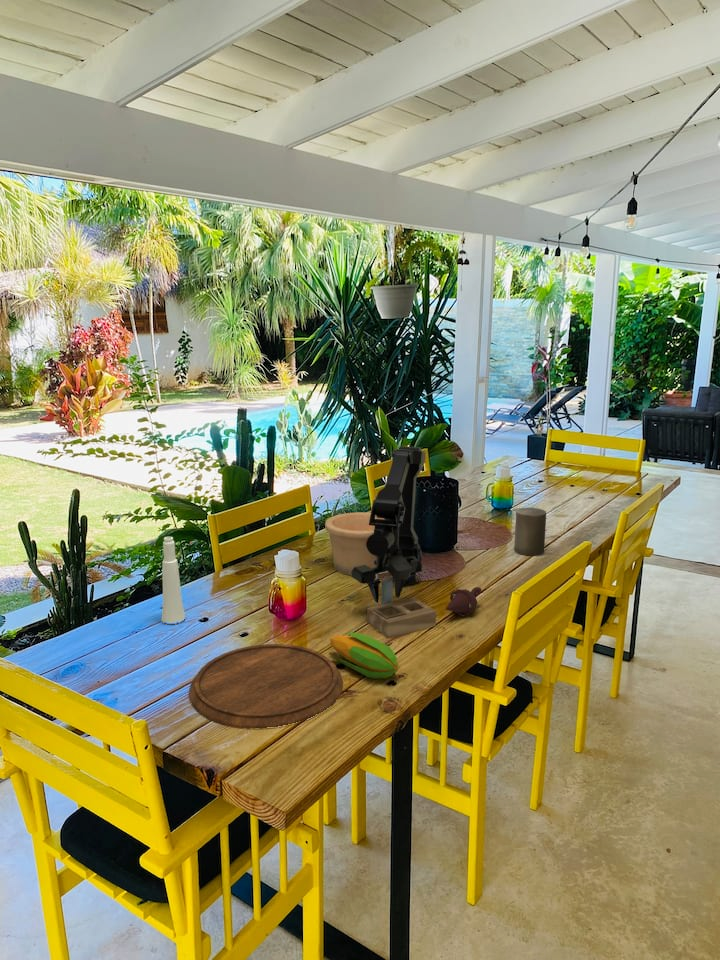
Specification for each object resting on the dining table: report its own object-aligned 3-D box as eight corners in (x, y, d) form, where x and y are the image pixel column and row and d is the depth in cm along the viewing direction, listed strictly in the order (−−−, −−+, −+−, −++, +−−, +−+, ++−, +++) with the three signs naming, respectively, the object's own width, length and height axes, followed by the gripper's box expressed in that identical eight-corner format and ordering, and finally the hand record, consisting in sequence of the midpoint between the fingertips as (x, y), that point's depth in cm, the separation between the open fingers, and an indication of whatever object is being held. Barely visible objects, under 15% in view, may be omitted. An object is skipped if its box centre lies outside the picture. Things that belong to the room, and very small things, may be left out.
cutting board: (374, 684, 151) (374, 673, 151) (258, 752, 128) (257, 739, 127) (273, 639, 172) (273, 629, 171) (158, 690, 149) (157, 679, 148)
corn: (384, 655, 147) (318, 626, 160) (382, 690, 148) (316, 658, 162) (407, 646, 152) (341, 618, 165) (405, 679, 153) (340, 649, 167)
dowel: (379, 607, 189) (379, 579, 187) (388, 605, 191) (389, 577, 189) (385, 611, 187) (385, 583, 185) (394, 609, 188) (395, 581, 186)
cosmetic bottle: (169, 627, 177) (164, 543, 172) (156, 620, 181) (151, 537, 176) (190, 619, 182) (185, 537, 176) (177, 613, 186) (172, 532, 180)
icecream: (461, 604, 176) (493, 591, 187) (438, 589, 180) (470, 578, 191) (453, 628, 178) (485, 614, 189) (431, 613, 182) (463, 600, 194)
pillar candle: (547, 556, 229) (550, 511, 225) (516, 556, 229) (519, 510, 226) (540, 547, 238) (543, 503, 235) (511, 546, 238) (513, 503, 235)
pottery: (314, 574, 213) (314, 528, 209) (340, 551, 233) (340, 509, 230) (384, 583, 206) (384, 536, 203) (404, 559, 226) (405, 515, 223)
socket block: (367, 622, 180) (367, 607, 179) (413, 611, 187) (413, 596, 186) (388, 638, 172) (388, 621, 171) (435, 625, 178) (436, 609, 177)
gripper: (372, 558, 173) (372, 618, 177) (435, 546, 182) (433, 603, 186) (350, 546, 182) (350, 602, 186) (411, 534, 191) (409, 589, 195)
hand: (387, 599), depth 188 cm, fingers open, 6 cm apart
